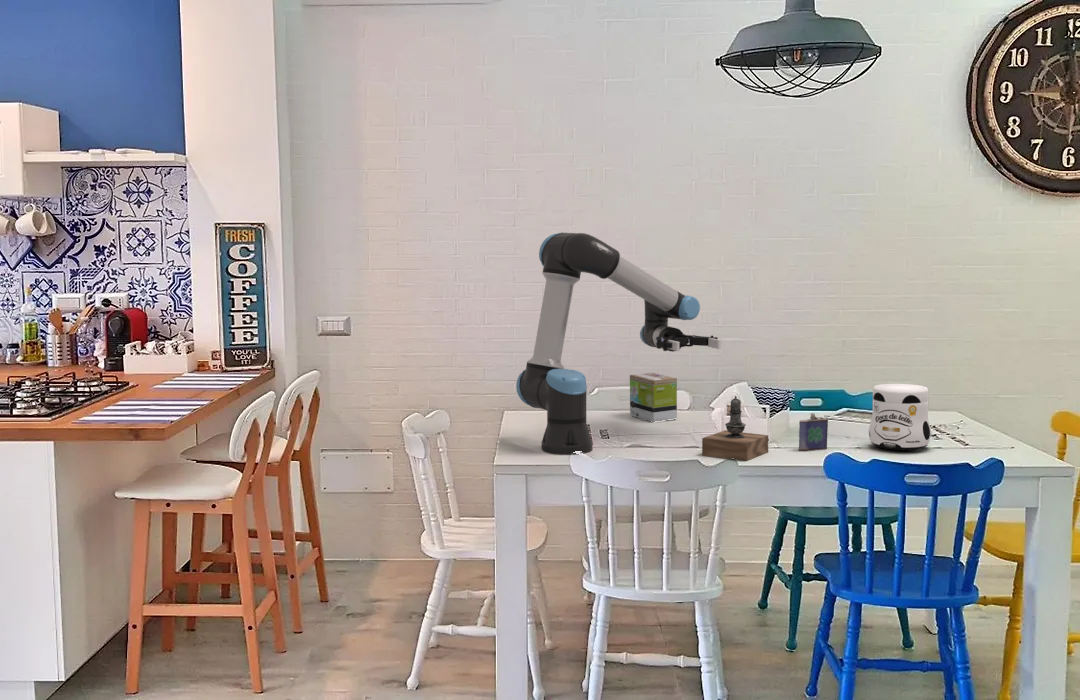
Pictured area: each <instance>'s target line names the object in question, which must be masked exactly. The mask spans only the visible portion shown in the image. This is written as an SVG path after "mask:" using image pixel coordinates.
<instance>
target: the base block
mask: <svg viewBox="0 0 1080 700" xmlns="http://www.w3.org/2000/svg"><path fill="white" fill-rule="evenodd" d="M728 434H732V433H730V432H728V431H727V429H726V430H725V429H724V430H722V431H720V432H719V431H718V432H716V433H714V434H710V435H707V436H704V437H701V438H702V439H701V441H702V442H701V446H702V449H701V451H702V452H701V453H702V454H701V455H702V456H703V457H704V456H706V457H714V458H721V459H727V458H734V459H733V460H735V459H737V460H736V461H743V462H748V461H751V460H753V459H755V458H758V457H760V456H763V455H764V454H767V453H769V435H768V434H760V433H751V432H744V431H743V432H742V433H739V434H742V435H744V436H745V437H744V438H738V439H735V438H728V437H726V436H727V435H728Z"/></svg>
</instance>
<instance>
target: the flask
mask: <svg viewBox="0 0 1080 700" xmlns="http://www.w3.org/2000/svg"><path fill="white" fill-rule="evenodd" d="M828 423H829V419H828V418H826V417H822V416H816V414H815V412H811V413H810V417H809V419H808V418H807V419H801V420H799V429H798V430H799V431H798V433H799V434H798V450H799V452H809V451H810V452H811V451H816V450H817V451H820V450H827V449H828V425H829V424H828Z"/></svg>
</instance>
